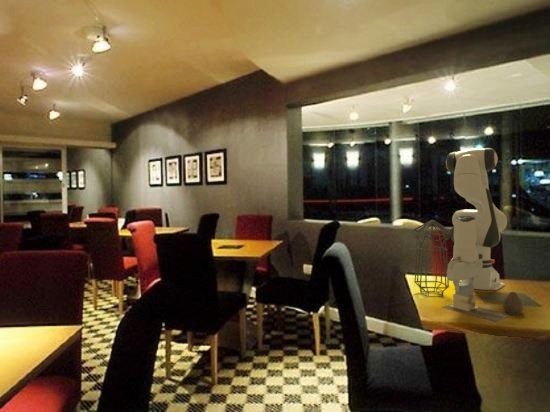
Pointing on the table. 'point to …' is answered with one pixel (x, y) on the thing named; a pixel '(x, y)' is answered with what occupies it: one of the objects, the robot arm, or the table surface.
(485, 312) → the board
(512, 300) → the vase
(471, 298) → the block
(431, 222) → the geometric lantern
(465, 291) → the top block
